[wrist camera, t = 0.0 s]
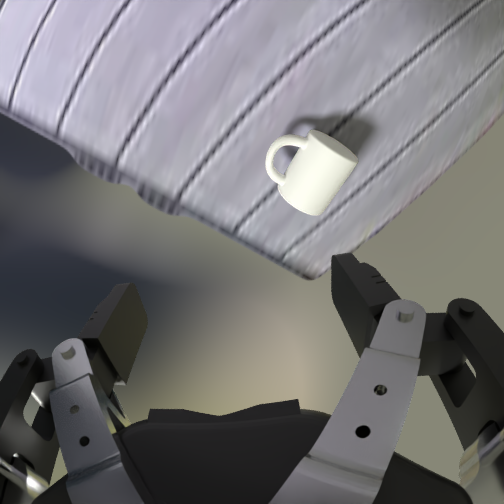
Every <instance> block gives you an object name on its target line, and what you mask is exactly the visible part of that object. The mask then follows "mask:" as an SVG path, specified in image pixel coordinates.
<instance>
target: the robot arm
mask: <svg viewBox="0 0 504 504" xmlns="http://www.w3.org/2000/svg"><path fill="white" fill-rule="evenodd" d="M331 274H332V275H331V292H332V299H333V303H334V305H335V307H336V309H337V311H338V313H339V315H340V317H341V319H342V321H343V323H344V326H345V328H346V330H347V332H348V334H349V336H350V338H351V340H352V342H353V345H354V347H355V349H356V351H357V353H358V355H359V357H360V360H359V362H358V365H357V367H356V369H355V371H354V373H353V375H352V377H351V379H350V381H349V383H348V385H347V387H346V389H345V391H344V393H343V396H342V397H341V399H340V401H339V403H338V405H337V407H336V409H335V410H334V412H333V414H332V415H330V414H326V413H323V412H318V411H314V410H306V409H300V406H299V402H298V399H295V400H289V401H283V402H275V403H267V404H260V405H256V406H253V407H250V408H247V409H244V410H240V411H237V412H233V413H230V414H227V415H222V416H216V415H210V414H205V413H199V412H194V411H189V410H184V409H150V411H149V415H148V419H146V420H142V421H139V422H136V423H134V424H131V423H130V421H129V420H128V418H127V416H126V414H125V412H124V410H123V408H122V406H121V404H120V402H119V400H118V398H117V395H116V394H115V392H114V391H113V386H114V385H126V383H127V380H128V378H129V374H130V372H131V369H132V366H133V363H134V361H135V358H136V355H137V352H138V350H139V347H140V345H141V342H142V339H143V337H144V334H145V332H146V329H147V325H148V320H147V314H146V312H145V309H144V307H143V304H142V301H141V299H140V296H139V293H138V291H137V289H136V286H135V284H133V283H125V284H118V285H115V286H114V288H113V290H112V291H111V293H110V294H109V295H108V297H107V298H106V299H104V300H103V301H102V302H101V303H100V304H99V305H98V306H97V308H96V309H95V311H94V313H93V314H92V316H91V317H90V320H88V321H87V323H86V325H85V326H84V328H83V329H82V331H81V332H80V334H79V336H78V337H77V339H76V338H74V339H69V340H66V341H64V342H63V343H61V344H60V345H59V346H57V347H56V349H55V350H54V352H53V354H52V357H49V358H45V359H40V357H39V356H38V354H37V353H36V351H35V350H33V349H27V350H25V351H22V352H21V353H19V354H18V355H17V356H16V357H15V358H14V360H13V362H12V363H11V365H10V366H9V368H8V369H7V371H6V373H5V375H4V376H3V378H2V380H1V381H0V504H504V333H503V331H502V330H501V329H500V328H499V327H498V326H497V324H496V323H495V322H494V321H493V320H492V319H491V317H490V316H489V315H488V314H487V313H486V312H485V311H484V310H483V309H482V307H481V306H479V305H478V304H477V303H476V302H474V301H472V300H469V299H464V298H458V299H454V300H452V301H451V302H450V303H449V304H448V307H447V311H446V313H426V312H425V310H424V308H423V307H422V306H421V305H419V304H418V303H416V302H414V301H410V300H405V299H403V300H402V299H401V298H400V297H399V296H398V295H397V293H396V292H395V291H394V290H393V288H392V287H391V286H390V285H389V284H388V282H386V280H385V279H384V278H383V277H382V276H381V274H380V273H379V272H378V271H377V270H376V268H374V267H372V266H370V265H369V264H367V263H359V261H358V260H357V259H356V258H355V257H354V255H353V254H352V253H344V254H337V255H333V256H332V259H331ZM466 359H468V360H469V362H470V363H471V365H472V366H473V368H474V370H475V372H476V378H475V376H474V374H473V373H472V371H471V370H470V368H469V367H468V365H467V364H466V362H465V361H466ZM425 375H429V376H430V378H431V380H432V382H433V384H434V386H435V388H436V390H437V392H438V394H439V396H440V398H441V400H442V402H443V404H444V406H445V408H446V410H447V412H448V414H449V417H450V419H451V421H452V423H453V425H454V427H455V430H456V432H457V434H458V437H459V439H460V441H461V444H462V446H463V448H464V453H463V454H462V457H461V459H460V465H459V469H460V472H459V477H460V479H461V480H460V484H457V483H456V482H454V481H451V480H449V479H447V478H445V477H443V476H440V475H439V474H436V473H435V472H432V471H430V470H428V469H426V468H424V467H423V466H420V465H419V464H417V463H415V462H413V461H411V460H409V459H407V458H405V457H404V456H402V455H400V454H398V453H396V452H395V451H394V449H395V447H396V444H397V441H398V439H399V436H400V433H401V430H402V427H403V424H404V421H405V418H406V415H407V412H408V408H409V405H410V401H411V398H412V394H413V390H414V387H415V383H416V379H417V376H425ZM30 395H32V396H33V397H34V399H35V400H36V401H37V402H38V403H39V405H40V407H39V410H38V412H37V414H36V416H35V419H34V421H33V424H32V426H31V427H30V426H29V425H28V424H27V423H26V421H25V419H24V416H23V410H24V407H25V405H26V403H27V401H28V399H29V397H30ZM59 448H60V449H61V452H62V456H63V459H64V463H65V466H66V469H67V472H68V473H67V474H66V475H65V476H63V477H62V478H61V479H60V480H58V481H57V482H56V483H54V484H53V485H52V486H51V487H49V484H50V480H51V476H52V472H53V469H54V465H55V461H56V458H57V454H58V451H59Z"/></svg>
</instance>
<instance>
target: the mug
mask: <svg viewBox="0 0 504 504" xmlns="http://www.w3.org/2000/svg"><path fill="white" fill-rule="evenodd" d="M286 145H293V146H298V147H300V148H299V149H298V151H297V153H296V154H295V156H294V158H293V160H292V161H291V163H290V165H289V166H288V168H287V170H286V171H285V173H284V175H283V174H281V173H279V172H278V171H277V170H276V169H275V168H274V166H273V159H274V156H275V154H276V152H277V150H278V149H279V148H281V147H282V146H286ZM357 163H358V159H357V157H356V156H355V155H354V154H353V153H352V152H351V151H350V150H349V149H348V148H347V147H345V146H344V145H343V144H341V143H340V142H338V141H337V140H335V139H334V138H332V137H330V136H328V135H327V134H325V133H322V132H320V131H317V130H310V131H309V132H308V134H307V136H306V137H302V136H298V135H284V136H281V137H279V138H277V139H276V140H275V141H274V142H273V143H272V145H271V146H270V148H269V150H268V152H267V156H266V162H265V164H266V170H267V173H268V175H269V176H270V177H271V179H272V180H274V181H275V182H276V183H278V190H279V192H280V194H281V195H282V197H283V198H284V199H285V200H286V201H287V202H288V203H289V204H291V205H292V206H293V207H295V208H296V209H298V210H300V211H302V212H304V213H307V214H310V215H320V214H322V213H323V212H324V210H325V209H326V207H327V206H328V205H329V203H330V202H331V200H332V199H333V198H334V196H335V195H336V193H337V192H338V191H339V189H340V188H341V186H342V185H343V183H344V182H345V181H346V179H347V178H348V176H349V175H350V173H351V172H352V171H353V169H354V168H355V166H356V165H357Z"/></svg>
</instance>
